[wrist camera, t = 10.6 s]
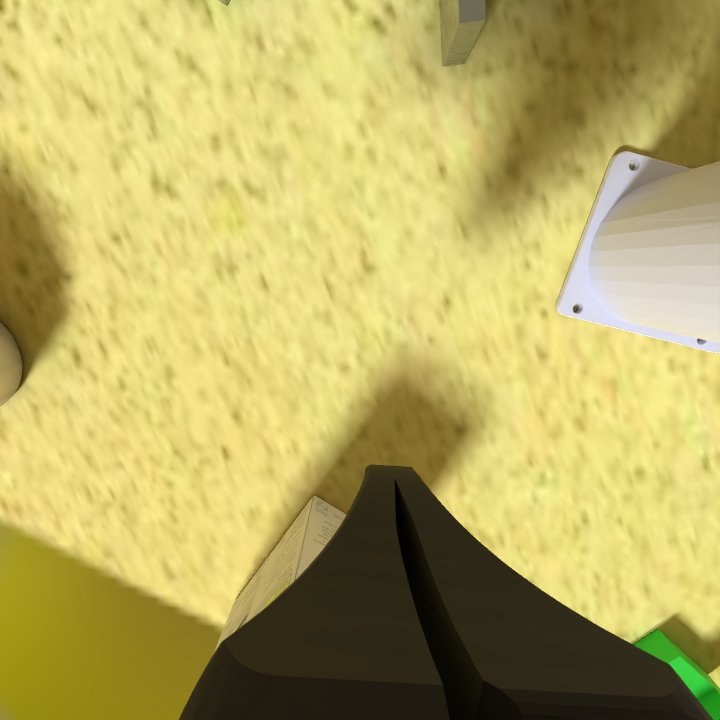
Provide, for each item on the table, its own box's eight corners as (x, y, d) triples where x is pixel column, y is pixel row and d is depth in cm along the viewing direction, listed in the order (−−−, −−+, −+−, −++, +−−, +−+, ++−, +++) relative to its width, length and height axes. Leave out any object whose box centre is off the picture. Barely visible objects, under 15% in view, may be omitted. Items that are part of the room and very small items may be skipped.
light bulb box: (313, 646, 26) (277, 908, 15) (229, 602, 25) (130, 849, 14) (400, 541, 23) (429, 766, 13) (311, 489, 22) (265, 685, 12)
